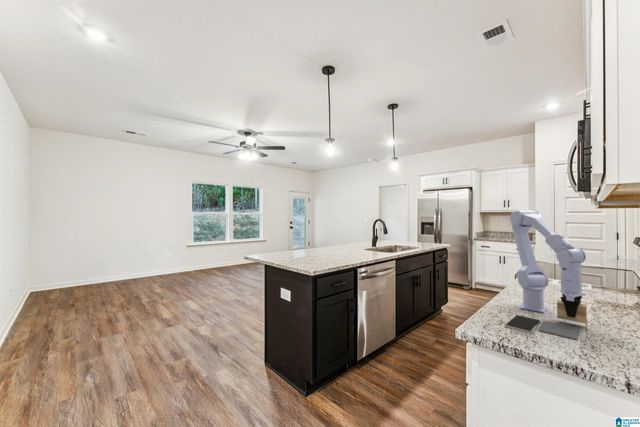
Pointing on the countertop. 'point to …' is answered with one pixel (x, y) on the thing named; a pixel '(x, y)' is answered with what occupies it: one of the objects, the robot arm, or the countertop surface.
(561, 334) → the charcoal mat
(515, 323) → the smartphone
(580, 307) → the oak slab
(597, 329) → the countertop surface
